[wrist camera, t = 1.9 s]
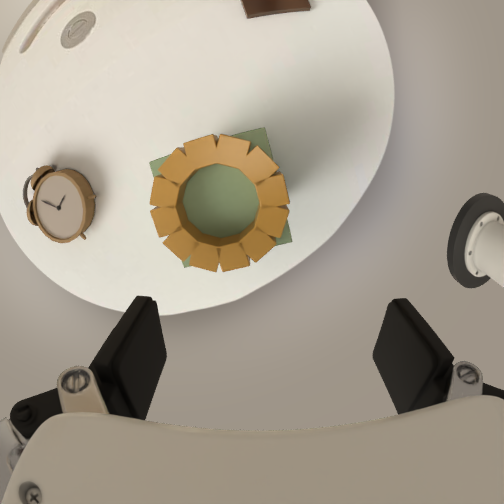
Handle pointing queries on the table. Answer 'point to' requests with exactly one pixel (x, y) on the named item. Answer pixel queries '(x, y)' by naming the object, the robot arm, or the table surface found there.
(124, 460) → the robot arm
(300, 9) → the peg stand
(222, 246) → the brass ring
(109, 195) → the table surface
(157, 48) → the table surface
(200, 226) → the sage green upright pillar
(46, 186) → the alarm clock
